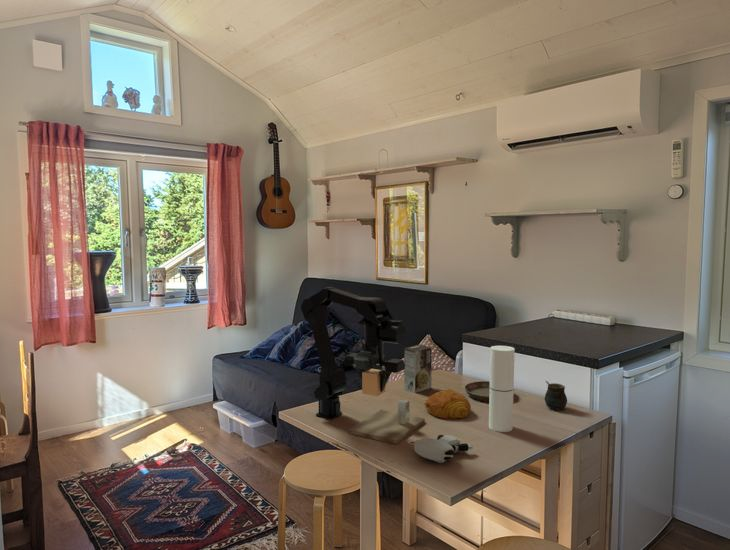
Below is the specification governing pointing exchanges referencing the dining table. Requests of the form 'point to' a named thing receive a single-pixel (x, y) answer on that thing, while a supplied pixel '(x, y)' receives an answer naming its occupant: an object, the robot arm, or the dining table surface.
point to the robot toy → (439, 447)
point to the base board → (386, 427)
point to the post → (403, 412)
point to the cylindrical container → (501, 388)
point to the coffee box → (417, 368)
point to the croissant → (448, 404)
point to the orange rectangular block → (371, 382)
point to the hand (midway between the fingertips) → (373, 390)
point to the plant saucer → (478, 390)
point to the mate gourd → (556, 396)
